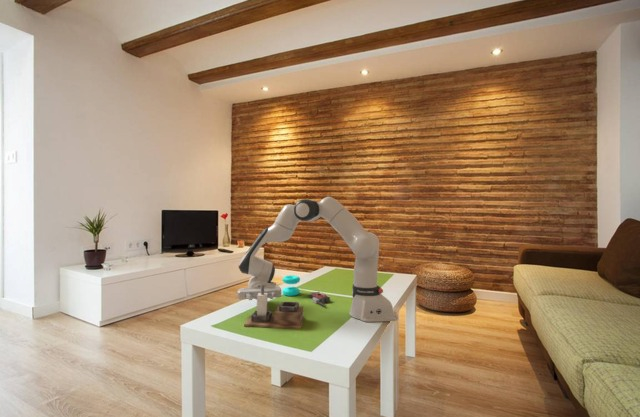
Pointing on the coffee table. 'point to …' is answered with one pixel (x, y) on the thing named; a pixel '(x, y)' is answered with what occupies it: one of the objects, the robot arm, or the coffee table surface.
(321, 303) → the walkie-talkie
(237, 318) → the coffee table surface
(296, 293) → the donuts
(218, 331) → the coffee table surface
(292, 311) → the brown wooden stepped base
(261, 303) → the plug
